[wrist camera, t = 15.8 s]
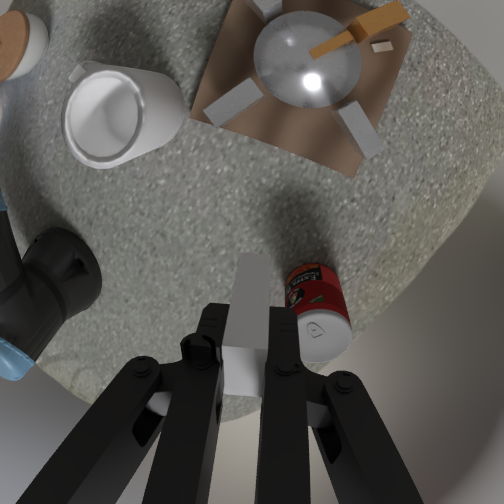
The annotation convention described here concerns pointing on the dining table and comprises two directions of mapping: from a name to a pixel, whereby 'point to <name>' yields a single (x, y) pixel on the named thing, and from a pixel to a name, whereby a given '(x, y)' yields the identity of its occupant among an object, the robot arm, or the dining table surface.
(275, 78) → the silver spoked hub
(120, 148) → the mug
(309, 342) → the canned food
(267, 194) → the dining table surface
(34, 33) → the lidded jar
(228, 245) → the dining table surface
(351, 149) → the wooden base plate
